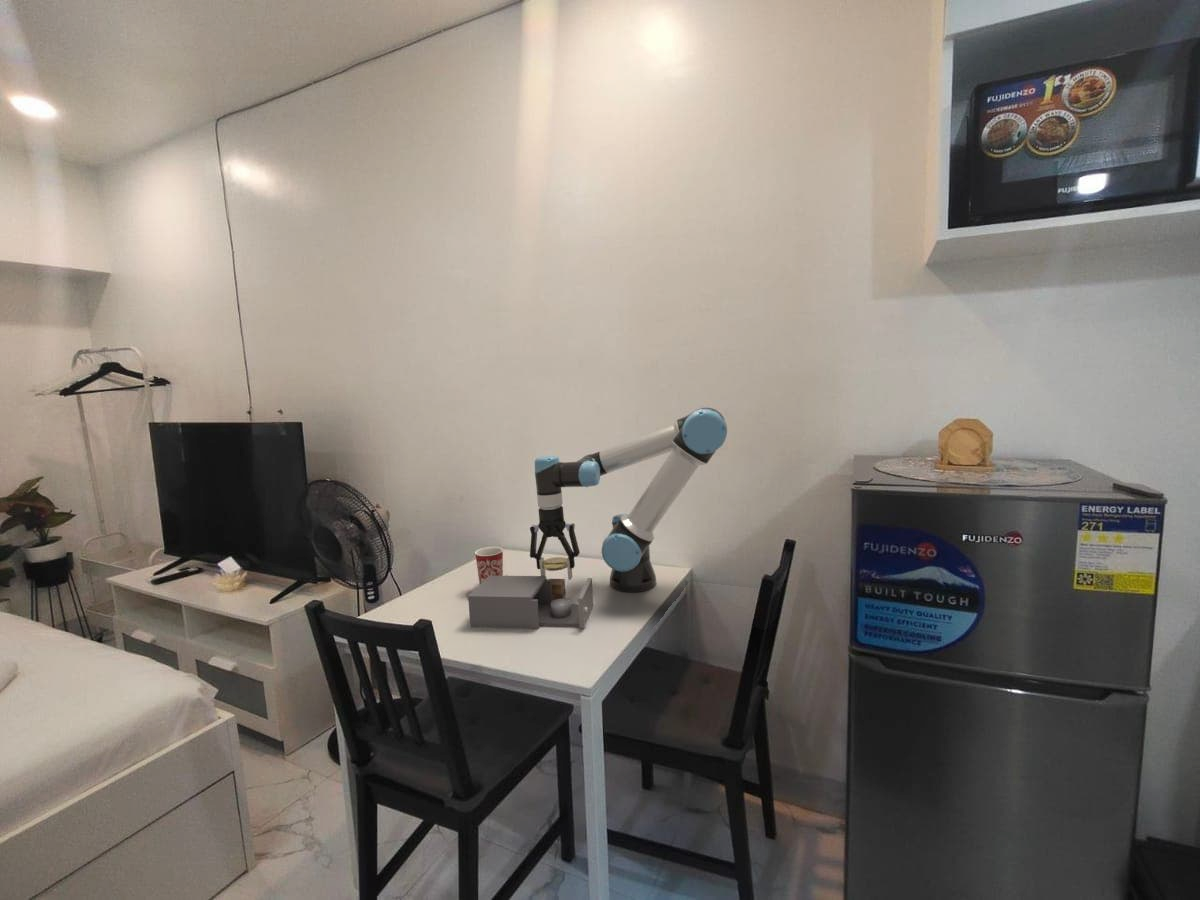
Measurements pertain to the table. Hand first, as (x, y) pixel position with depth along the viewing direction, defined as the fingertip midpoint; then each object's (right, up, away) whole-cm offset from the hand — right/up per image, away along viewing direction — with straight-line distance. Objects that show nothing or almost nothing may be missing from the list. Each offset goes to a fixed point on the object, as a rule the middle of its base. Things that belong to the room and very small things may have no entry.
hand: (556, 578), depth 166 cm
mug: (-22, -6, +10) cm, 25 cm away
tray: (+1, -7, -13) cm, 15 cm away
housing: (-12, -8, -11) cm, 19 cm away
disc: (0, +4, 0) cm, 4 cm away
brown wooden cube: (0, -6, +1) cm, 6 cm away
